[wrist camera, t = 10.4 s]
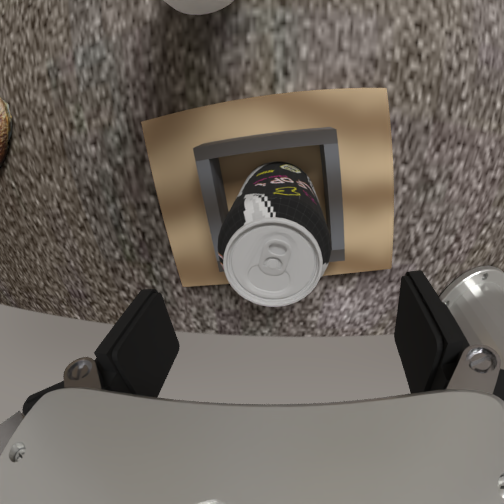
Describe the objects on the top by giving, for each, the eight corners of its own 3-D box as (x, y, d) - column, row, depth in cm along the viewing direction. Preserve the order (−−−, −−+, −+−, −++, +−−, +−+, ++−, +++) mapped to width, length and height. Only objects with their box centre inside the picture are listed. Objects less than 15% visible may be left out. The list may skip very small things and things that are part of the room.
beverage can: (322, 169, 23) (354, 225, 12) (303, 234, 26) (313, 327, 15) (251, 152, 23) (220, 192, 12) (237, 218, 26) (202, 302, 15)
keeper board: (387, 262, 27) (400, 285, 24) (186, 280, 30) (173, 304, 27) (381, 88, 20) (399, 85, 17) (147, 121, 24) (124, 124, 20)
